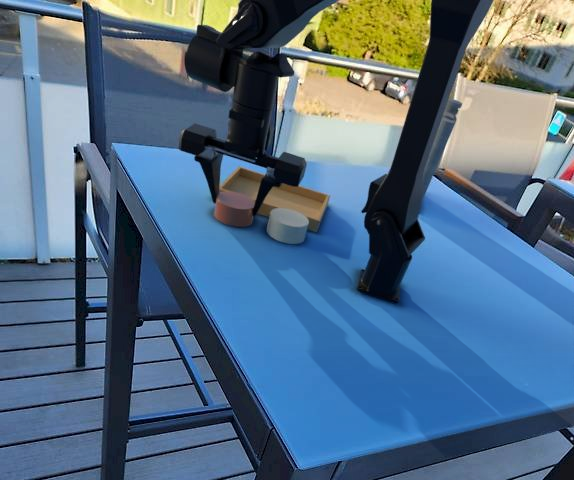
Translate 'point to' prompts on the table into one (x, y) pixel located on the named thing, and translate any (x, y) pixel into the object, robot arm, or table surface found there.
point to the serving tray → (279, 196)
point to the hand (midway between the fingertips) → (235, 208)
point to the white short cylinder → (287, 226)
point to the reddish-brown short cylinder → (234, 209)
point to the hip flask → (440, 141)
